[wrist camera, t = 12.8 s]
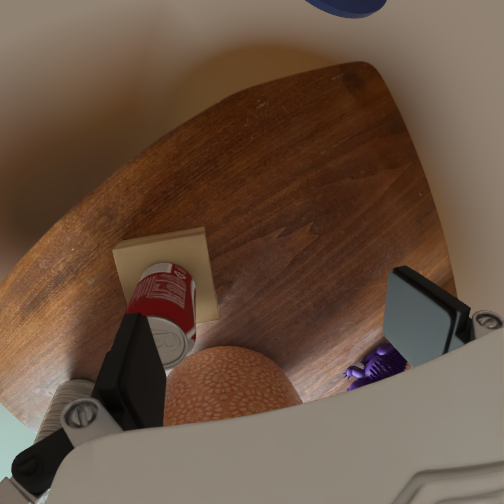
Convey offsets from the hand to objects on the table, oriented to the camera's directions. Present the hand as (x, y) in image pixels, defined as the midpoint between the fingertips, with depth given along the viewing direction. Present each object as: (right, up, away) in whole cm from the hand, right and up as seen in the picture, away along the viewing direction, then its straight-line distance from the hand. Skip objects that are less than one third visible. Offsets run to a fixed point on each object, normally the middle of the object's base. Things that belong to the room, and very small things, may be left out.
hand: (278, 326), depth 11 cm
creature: (+20, -18, +39) cm, 47 cm away
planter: (-6, -17, +34) cm, 39 cm away
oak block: (-12, 0, +27) cm, 30 cm away
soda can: (-11, -1, +24) cm, 26 cm away
